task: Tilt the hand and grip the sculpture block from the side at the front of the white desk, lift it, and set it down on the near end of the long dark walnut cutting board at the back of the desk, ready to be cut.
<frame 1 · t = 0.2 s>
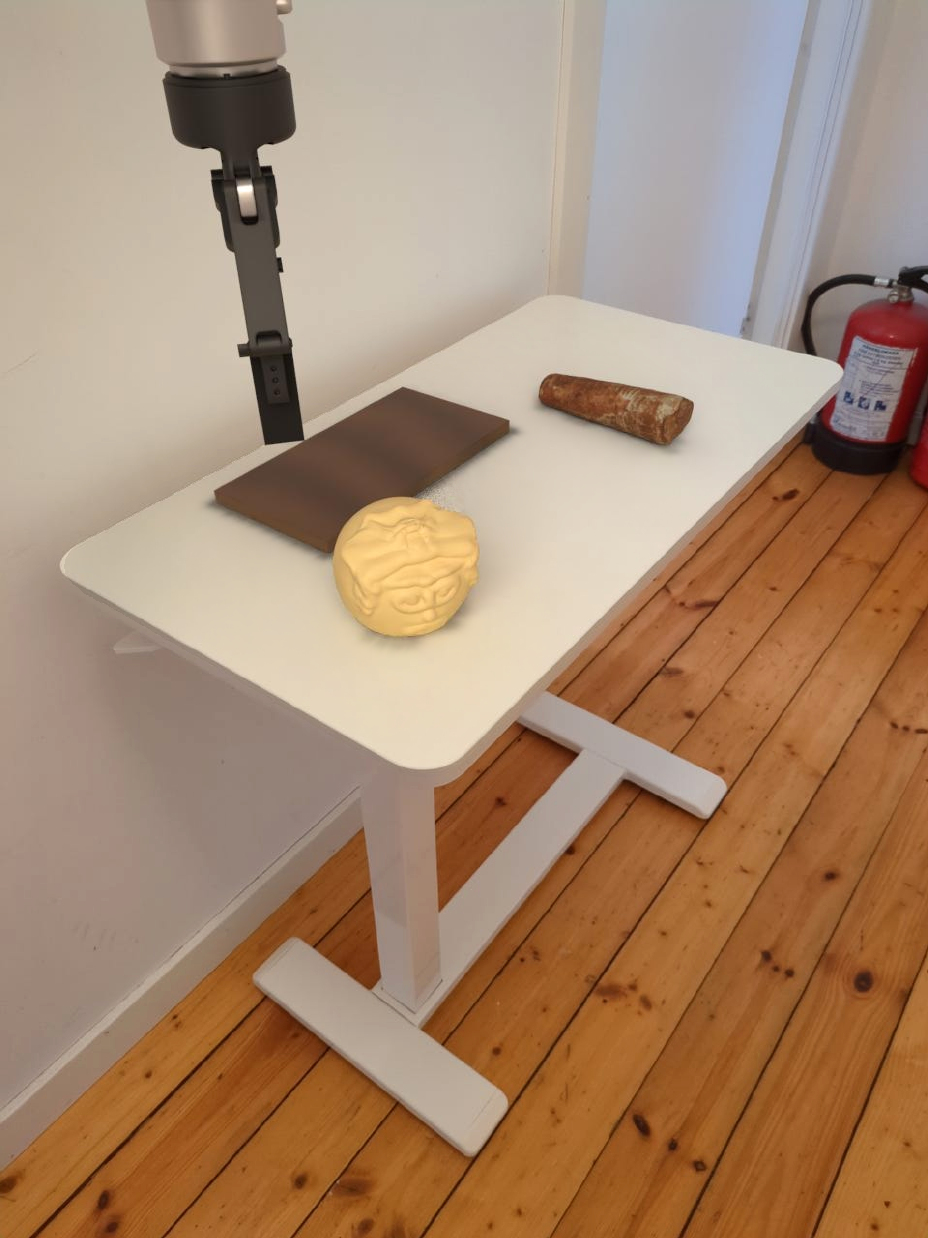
hand: (277, 398, 67), 19 cm above the table, tool pointing down, fingers open, 13 cm apart
bread: (606, 426, 104), on the table
cutting board: (370, 465, 98), on the table
sculpture: (407, 613, 78), on the table
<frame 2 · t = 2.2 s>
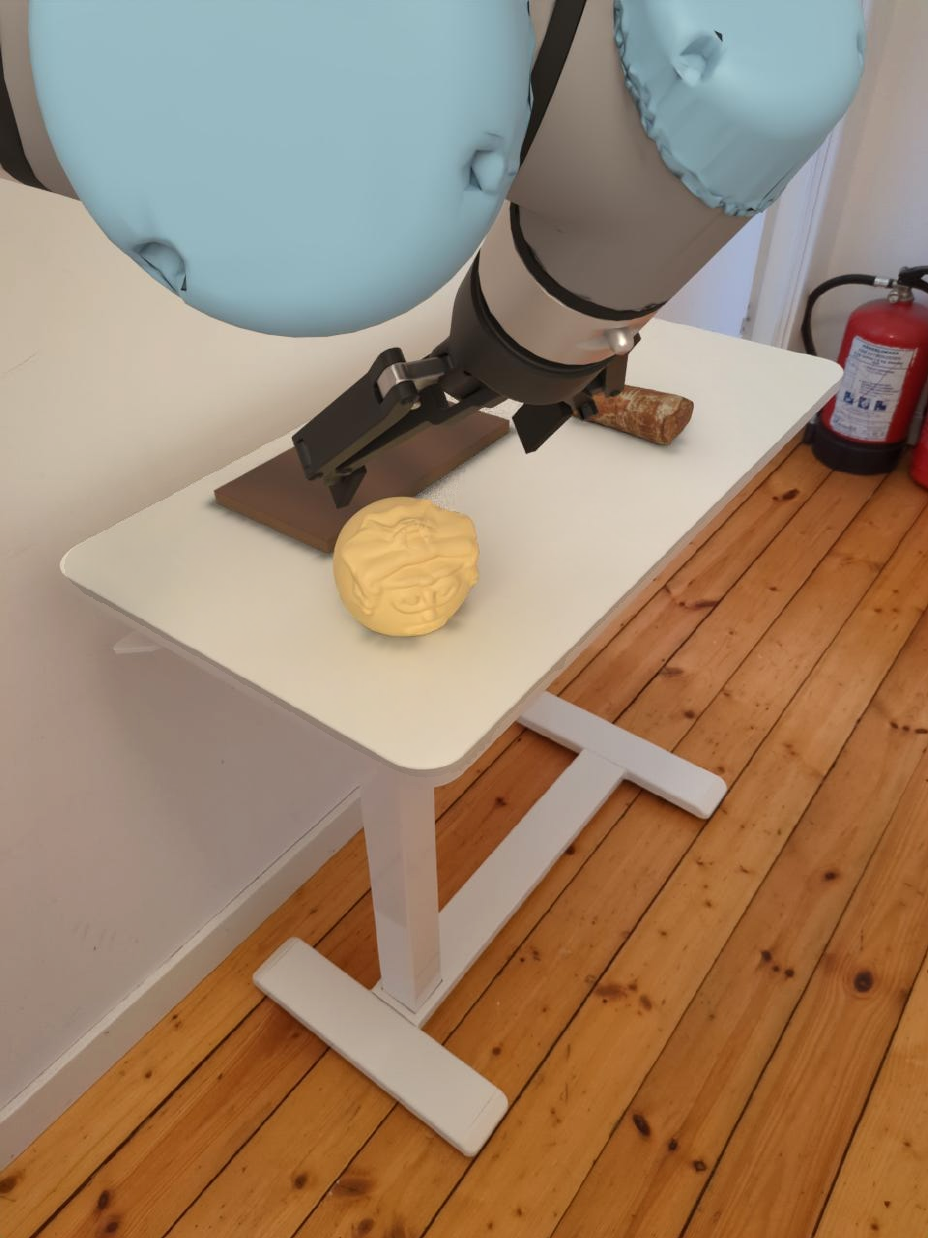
hand: (432, 460, 58), 20 cm above the table, tool tilted 45°, fingers open, 13 cm apart
nothing on the table moved.
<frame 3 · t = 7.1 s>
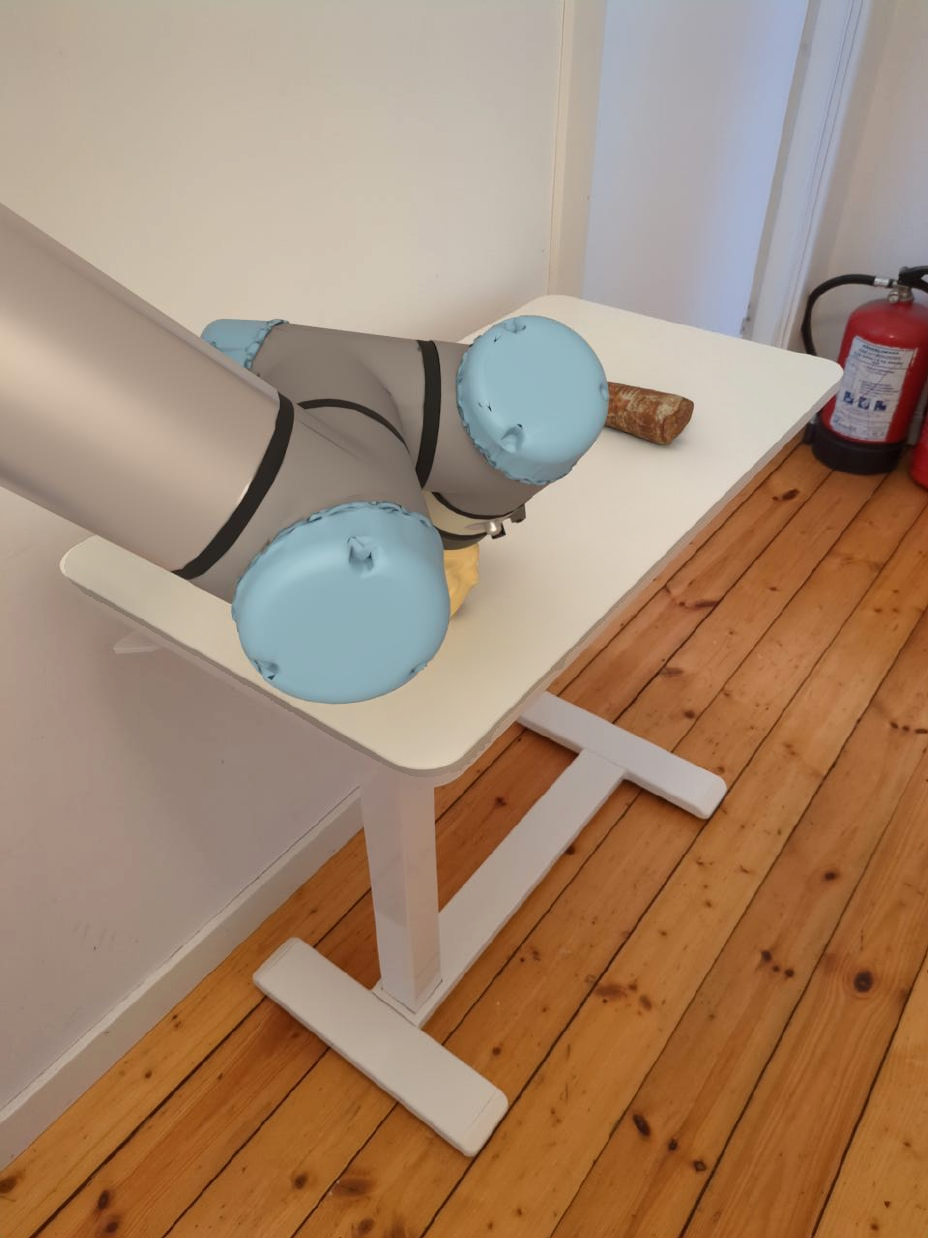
hand: (392, 555, 77), 4 cm above the table, tool tilted 45°, fingers closed on sculpture, 11 cm apart
sculpture: (407, 613, 78), on the table, touching gripper
everything else where it was.
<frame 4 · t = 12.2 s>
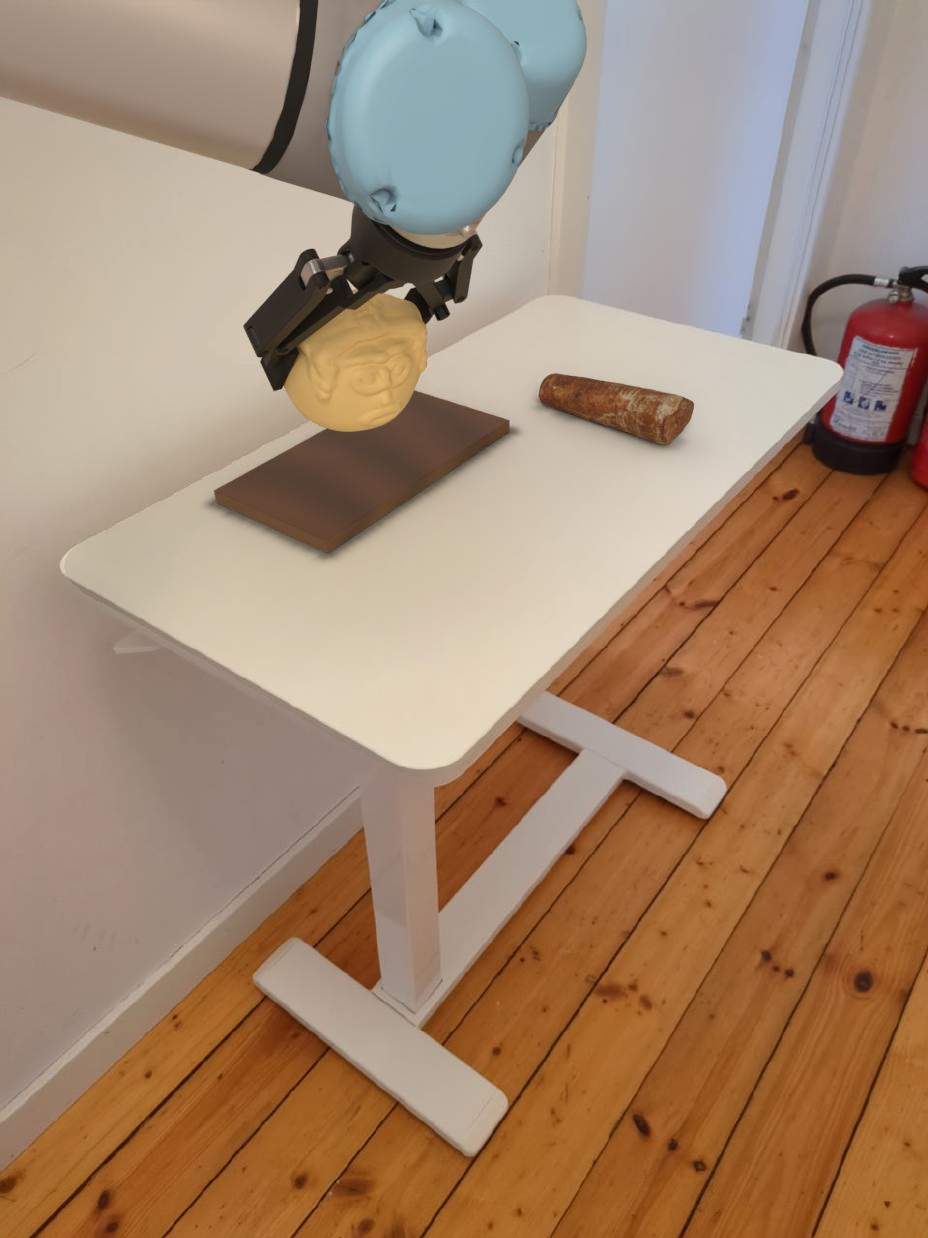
hand: (335, 357, 77), 18 cm above the table, tool tilted 45°, fingers closed on sculpture, 11 cm apart
sculpture: (356, 416, 78), point 13 cm above the table, touching gripper
everything else where it was.
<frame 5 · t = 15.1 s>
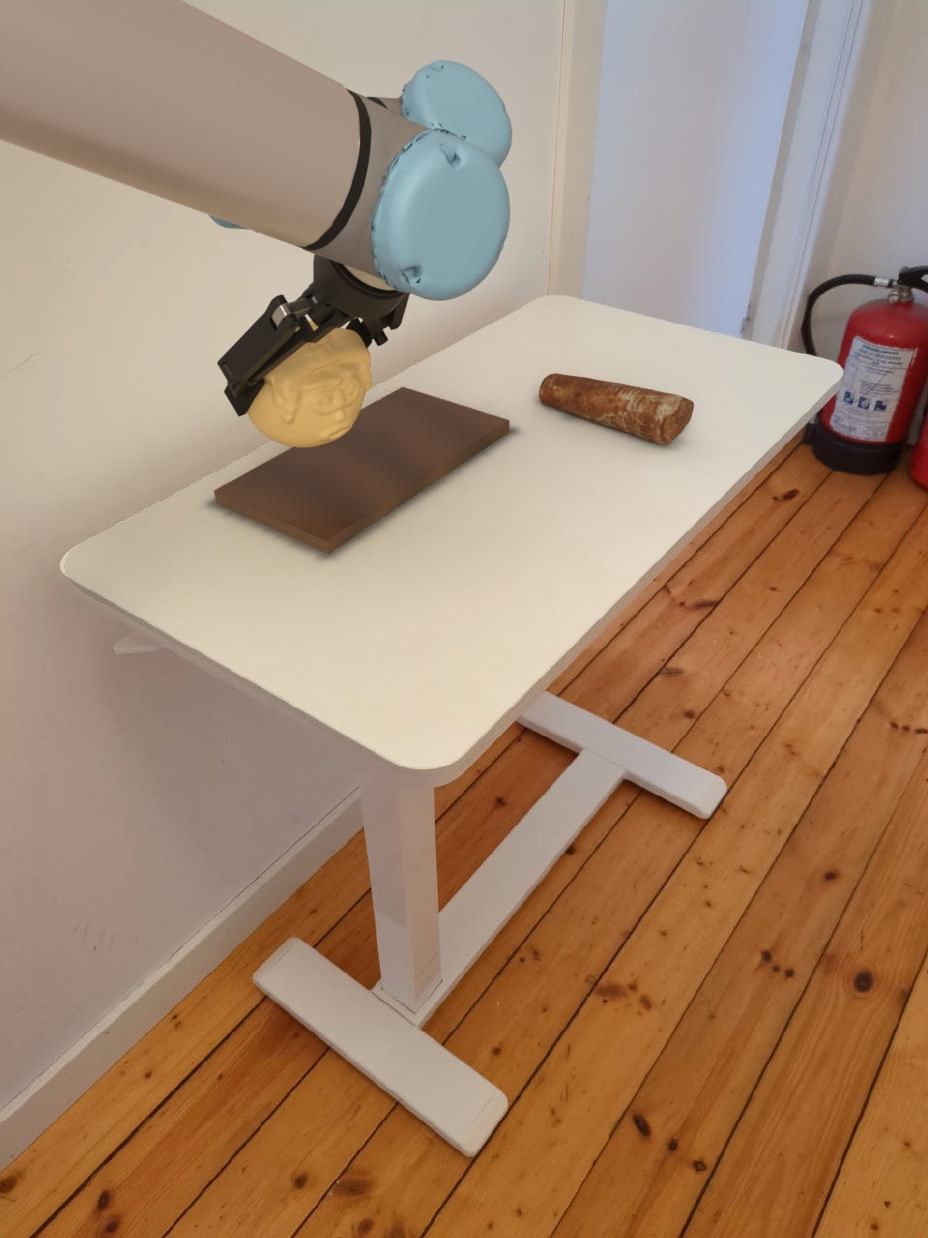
hand: (288, 382, 87), 12 cm above the table, tool tilted 45°, fingers closed on sculpture, 11 cm apart
sculpture: (310, 433, 88), point 7 cm above the table, touching gripper
everything else where it was.
when the fingers open (6 cm above the table, at t = 17.4 s): sculpture stays where it is, resting on cutting board.
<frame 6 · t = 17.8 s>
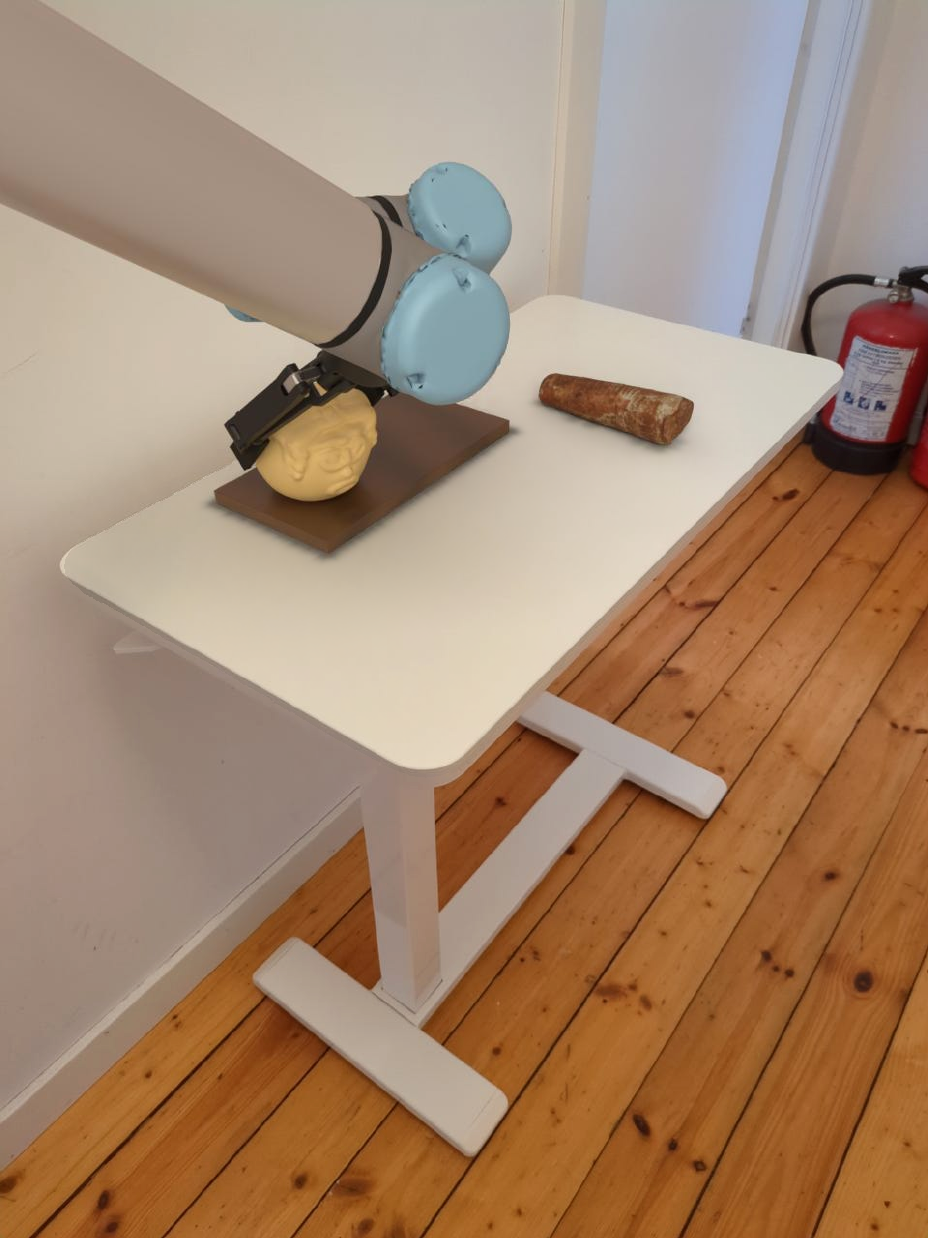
hand: (297, 433, 90), 6 cm above the table, tool tilted 45°, fingers open, 13 cm apart
sculpture: (318, 486, 92), point 1 cm above the table, touching cutting board
everything else where it was.
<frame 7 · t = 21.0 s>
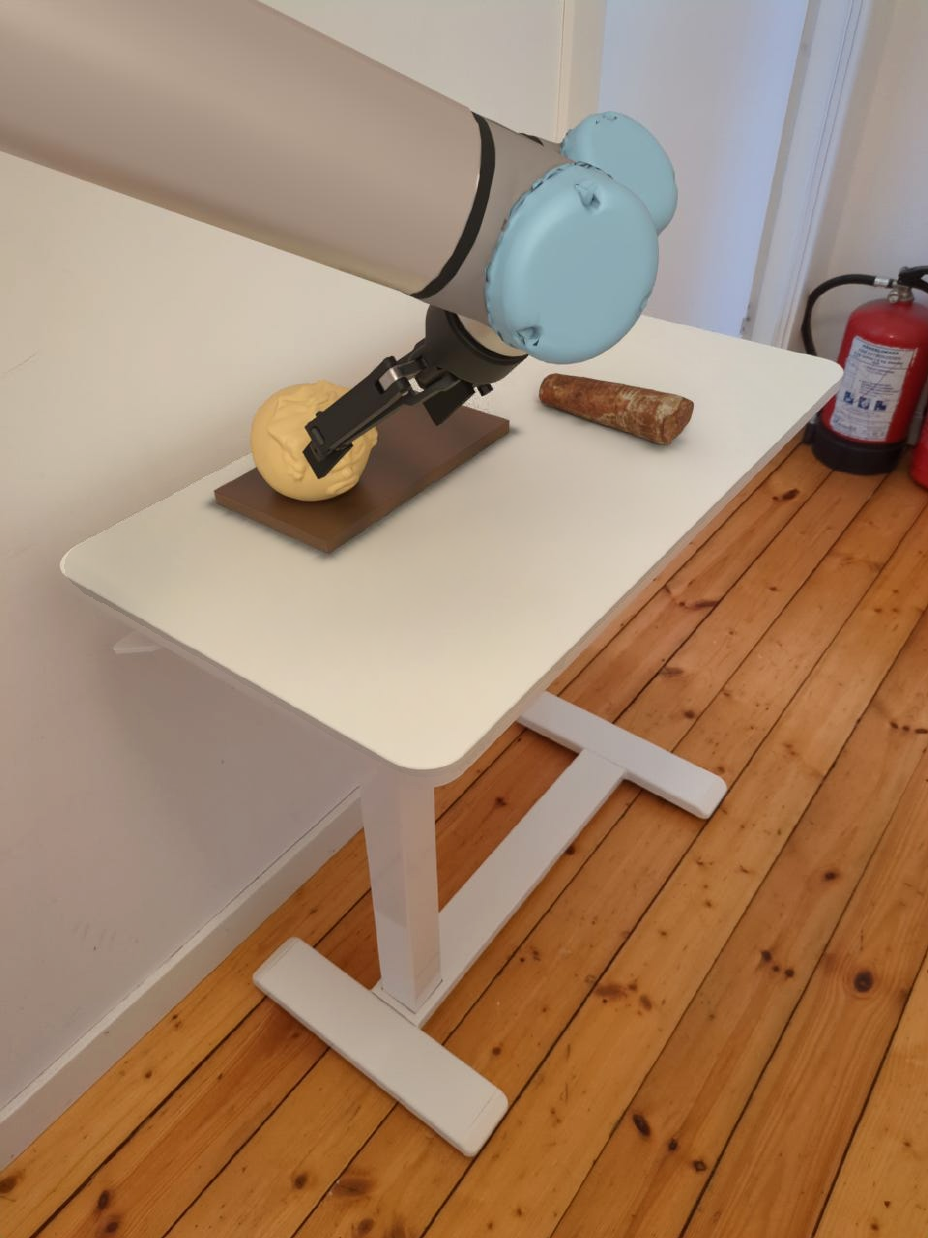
hand: (375, 437, 80), 11 cm above the table, tool tilted 45°, fingers open, 13 cm apart
nothing on the table moved.
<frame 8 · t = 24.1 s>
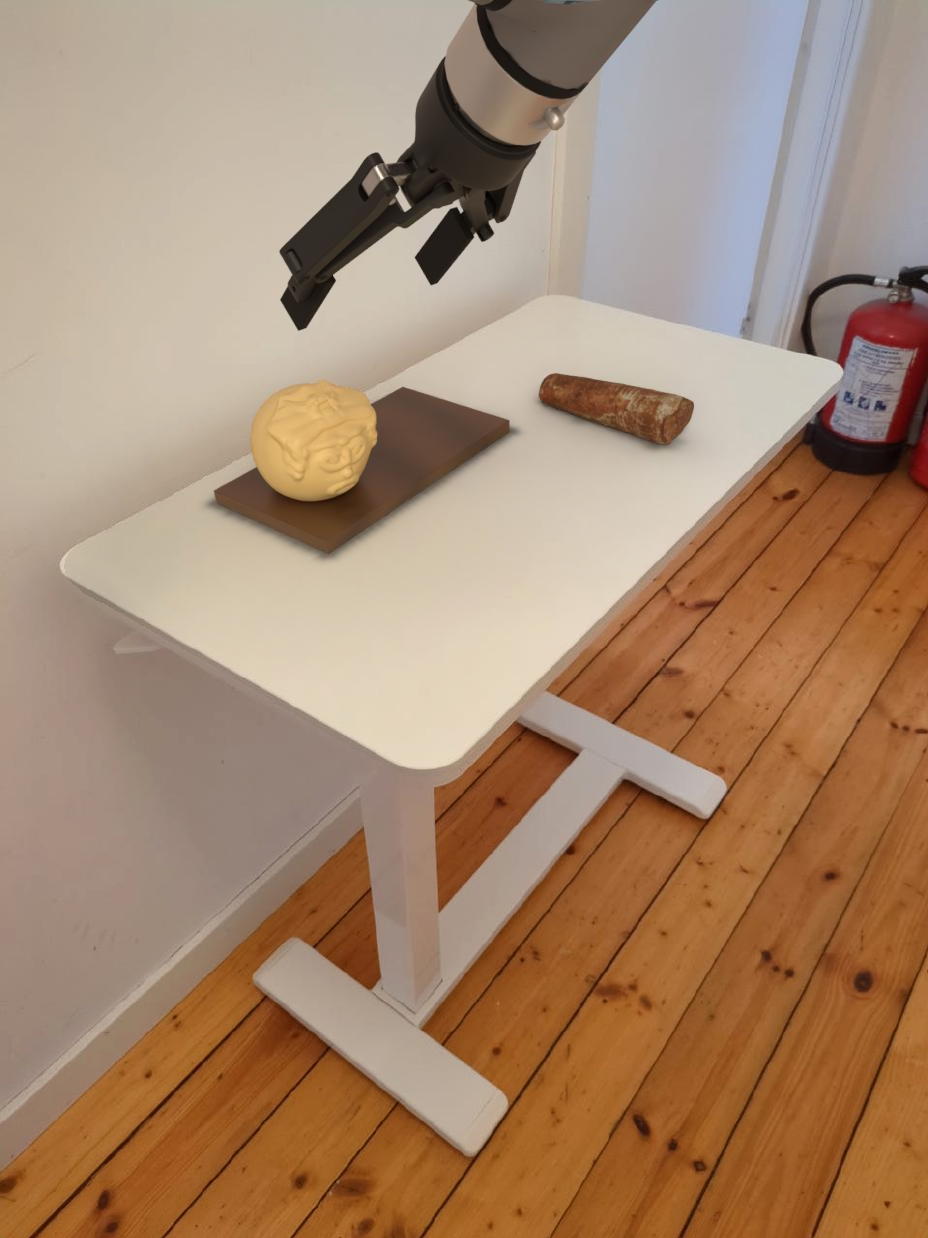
hand: (362, 291, 72), 24 cm above the table, tool tilted 45°, fingers open, 13 cm apart
nothing on the table moved.
at the end: sculpture inside the target area on the cutting board (0.2 cm from its centre), point 1.3 cm above the cutting board's base; sculpture tilted 0°; the gripper is holding nothing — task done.
